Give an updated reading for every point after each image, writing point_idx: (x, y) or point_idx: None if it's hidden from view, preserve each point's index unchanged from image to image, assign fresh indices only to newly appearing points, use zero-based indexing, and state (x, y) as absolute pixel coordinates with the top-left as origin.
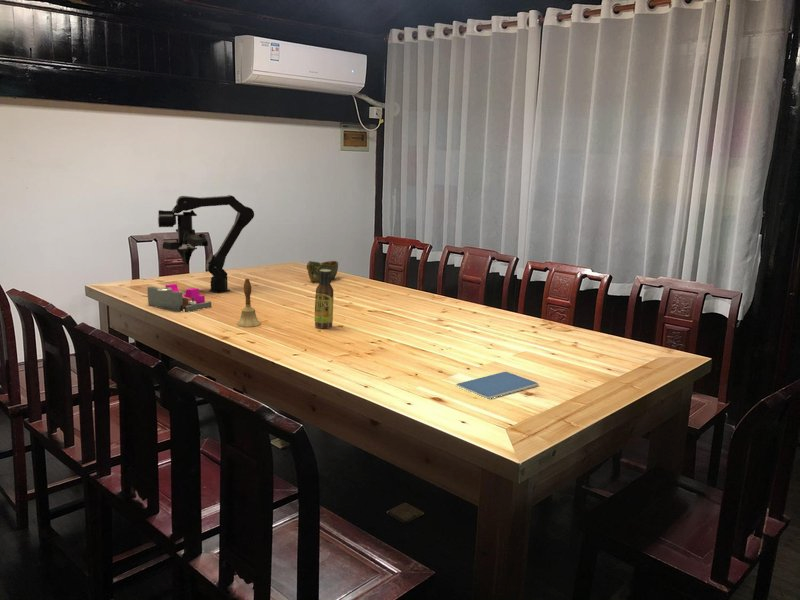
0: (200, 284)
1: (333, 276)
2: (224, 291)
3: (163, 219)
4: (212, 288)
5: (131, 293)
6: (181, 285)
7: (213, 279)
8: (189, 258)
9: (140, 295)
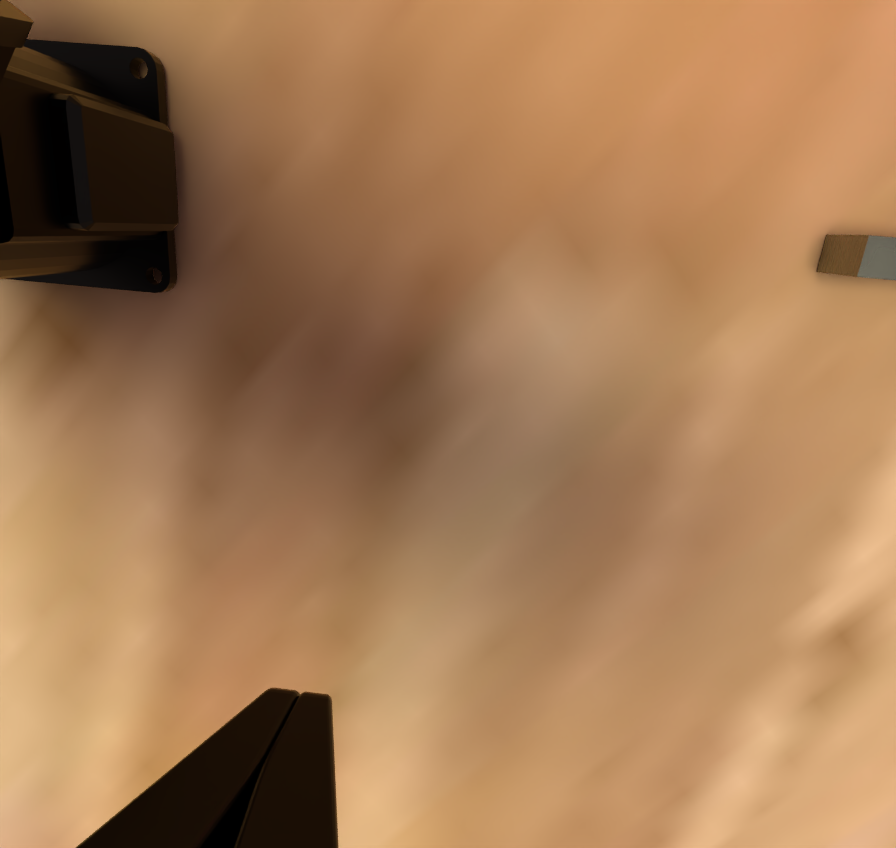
0: (14, 649)
1: None
2: (50, 42)
3: None
4: (158, 177)
5: (789, 844)
6: (191, 751)
7: (28, 157)
8: (124, 843)
9: (831, 723)
